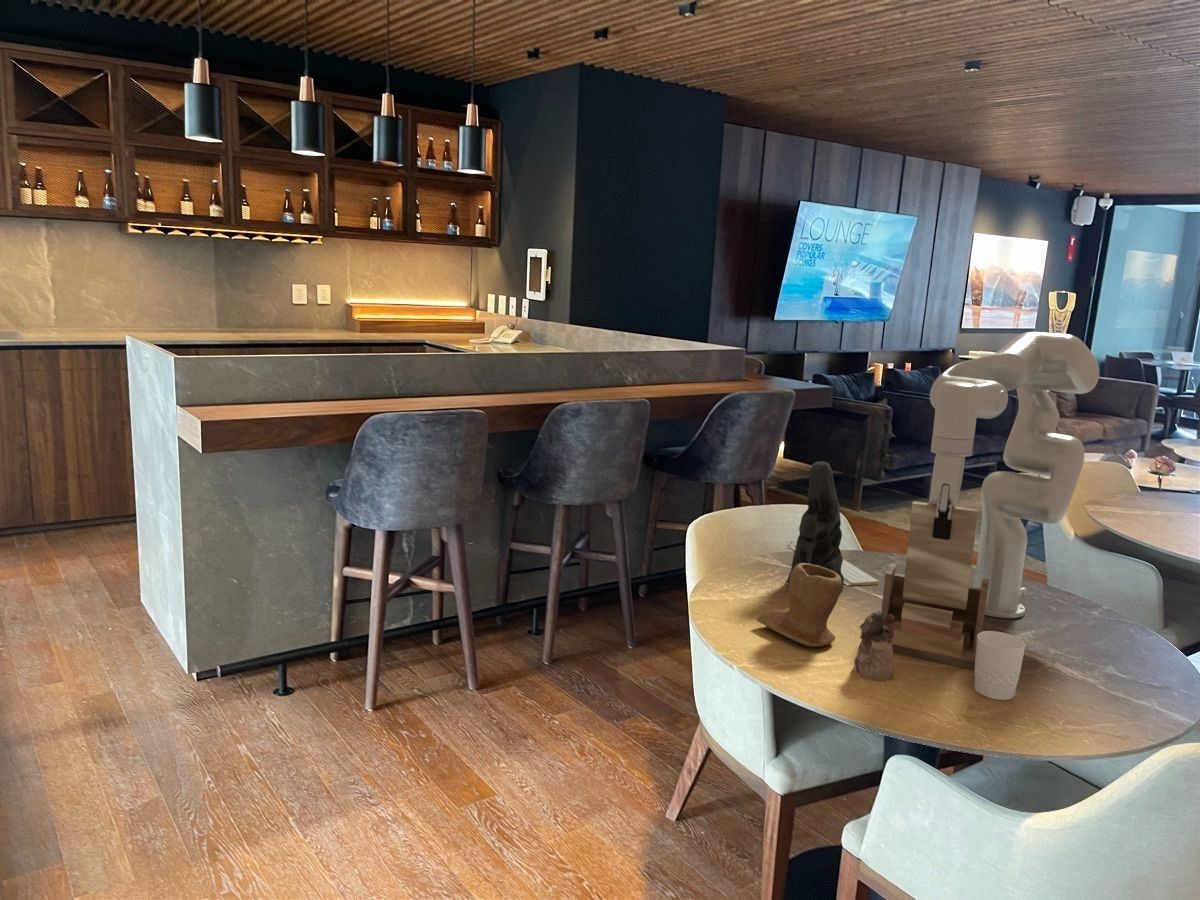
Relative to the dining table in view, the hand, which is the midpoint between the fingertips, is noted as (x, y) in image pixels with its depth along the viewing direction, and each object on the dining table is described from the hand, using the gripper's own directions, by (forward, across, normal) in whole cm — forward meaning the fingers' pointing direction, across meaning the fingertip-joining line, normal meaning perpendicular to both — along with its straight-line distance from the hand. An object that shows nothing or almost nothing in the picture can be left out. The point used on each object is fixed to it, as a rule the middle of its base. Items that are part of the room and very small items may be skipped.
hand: (941, 536), depth 174 cm
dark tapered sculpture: (+23, -23, -28) cm, 43 cm away
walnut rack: (+23, +2, 0) cm, 23 cm away
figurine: (+23, +20, -8) cm, 31 cm away
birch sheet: (+14, 0, 0) cm, 14 cm away
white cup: (+23, +17, +13) cm, 31 cm away
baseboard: (+24, -40, -28) cm, 55 cm away
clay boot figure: (+23, +10, -24) cm, 34 cm away
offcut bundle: (+21, +6, 0) cm, 22 cm away
